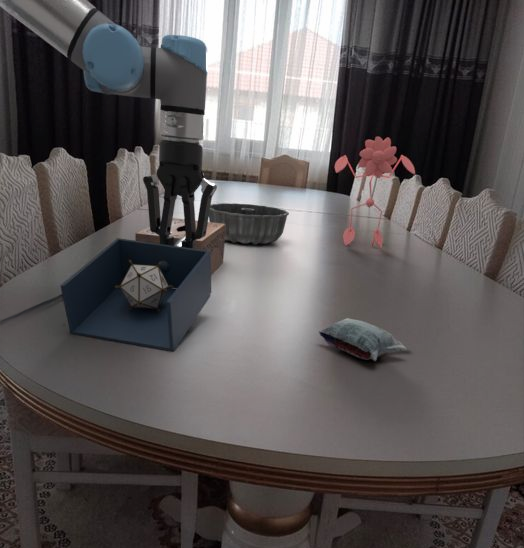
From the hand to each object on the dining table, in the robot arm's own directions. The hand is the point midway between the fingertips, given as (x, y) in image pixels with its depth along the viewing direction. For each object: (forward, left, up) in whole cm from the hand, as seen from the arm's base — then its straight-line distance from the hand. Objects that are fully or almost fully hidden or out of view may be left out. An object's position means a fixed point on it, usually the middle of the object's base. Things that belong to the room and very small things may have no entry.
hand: (176, 272), depth 99 cm
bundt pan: (-5, +74, -6) cm, 74 cm away
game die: (0, -13, -3) cm, 14 cm away
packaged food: (+36, -10, -6) cm, 38 cm away
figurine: (+33, +87, -6) cm, 93 cm away
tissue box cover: (-8, +25, -6) cm, 27 cm away
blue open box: (0, -9, -3) cm, 9 cm away
